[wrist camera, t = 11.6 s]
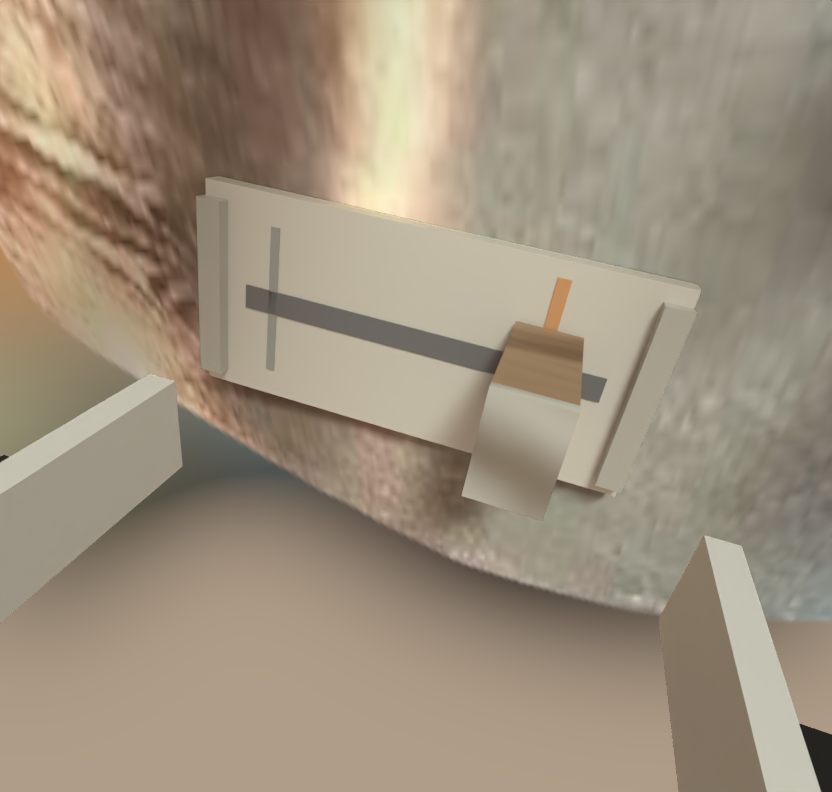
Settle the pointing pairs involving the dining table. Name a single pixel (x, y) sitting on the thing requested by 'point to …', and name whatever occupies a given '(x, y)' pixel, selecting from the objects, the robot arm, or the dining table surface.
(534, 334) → the fader knob
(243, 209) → the slider console
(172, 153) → the dining table surface
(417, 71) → the dining table surface
